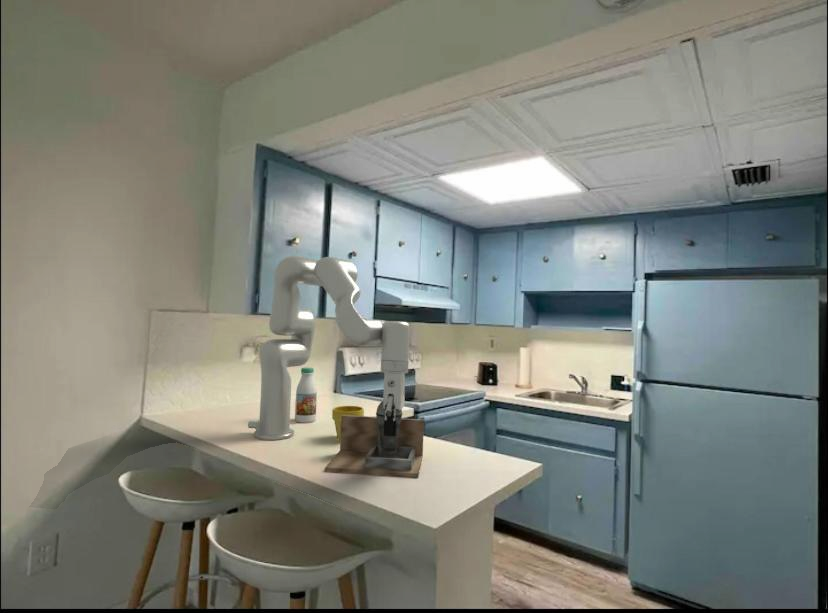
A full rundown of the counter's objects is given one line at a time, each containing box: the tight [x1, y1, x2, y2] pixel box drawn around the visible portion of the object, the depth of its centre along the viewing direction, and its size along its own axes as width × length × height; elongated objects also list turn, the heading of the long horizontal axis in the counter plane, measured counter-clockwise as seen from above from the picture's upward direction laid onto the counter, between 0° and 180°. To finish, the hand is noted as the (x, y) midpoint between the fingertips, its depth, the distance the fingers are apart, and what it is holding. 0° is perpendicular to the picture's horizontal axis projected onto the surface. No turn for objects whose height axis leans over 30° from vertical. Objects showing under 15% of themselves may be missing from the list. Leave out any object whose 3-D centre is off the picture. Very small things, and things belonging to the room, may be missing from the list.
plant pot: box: [331, 405, 365, 441], centre depth 146 cm, size 10×10×10 cm
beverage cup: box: [375, 399, 403, 458], centre depth 121 cm, size 7×7×20 cm
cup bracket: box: [324, 415, 425, 478], centre depth 121 cm, size 24×16×11 cm, turn 85°
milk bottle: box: [294, 367, 318, 424], centre depth 168 cm, size 8×8×20 cm
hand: (391, 431), depth 120 cm, fingers closed on beverage cup, 6 cm apart
